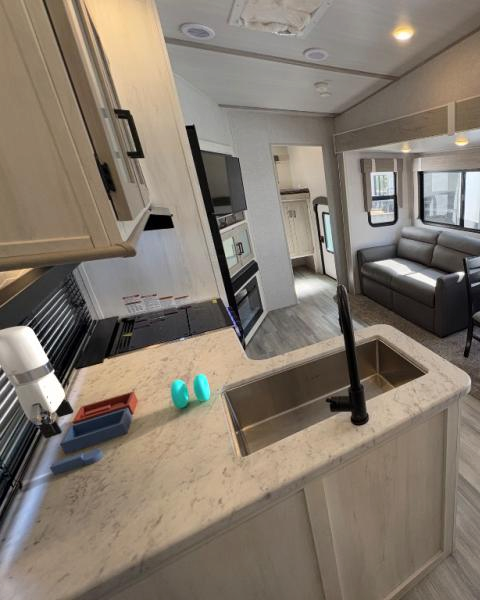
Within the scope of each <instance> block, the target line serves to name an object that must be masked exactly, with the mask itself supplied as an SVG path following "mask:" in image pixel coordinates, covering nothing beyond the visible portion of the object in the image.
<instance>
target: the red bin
mask: <svg viewBox="0 0 480 600" xmlns="http://www.w3.org/2000/svg"><path fill="white" fill-rule="evenodd" d="M138 400H139V399H138V398H137V396H136V393H135V391H133V390H132V391H129V392H127V393H124V394H120V395H116V396H113V397H110V398H106V399H102V400H99V401H95V402H92V403H89V404H86V405H81V406H80V408H79V410H78V411H77V413H76V414H75V416H74V418H73V420H72V425H74V424H77V423H81V422H84V421H87V420H90V419H94V418H97V417H100V416H103V415H106V414H110V413H113V412H116V411H119V410H123V409H126V408H128V409H129V411H130V413H131V415H134V413H135V410H136V406H137V404H138ZM118 403H124V404H125V405H123V406H119V407H116V408H113V409H109V410H106V411H103V412H100V413H96V414H93V415H90V416H86V417H85V413H86V412H88V411H91V410H94V409H98V408H101V407H104V406H108V405H110V406H111V407H112V406H114V405H116V404H118Z"/></svg>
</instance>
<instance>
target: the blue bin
mask: <svg viewBox="0 0 480 600" xmlns="http://www.w3.org/2000/svg"><path fill="white" fill-rule="evenodd" d="M132 419H133V416H132V414H131V413H130V411H129V409H128V408H126V409H123V410H119V411H116V412H113V413H110V414H106V415H103V416H100V417H97V418H94V419H90V420H87V421H84V422H81V423H77V424H72V425H69V427H68V429H67V430H66V432H65V434H64V436H63V437H62V439H61V440H60V442H59V445H60V447H61V449H62V451H63V452H64V454H65V455H68V454H71V453H74V452H77V451H80V450H82V449H86V448H88V447H91V446H94V445H95V446H96V445H97V444H100V443H103V442H106V441H109V440H113V439H115V438H118V437H120V436H121V437H122V436H124V435H126V434H128V432H129V429H130V426H131V422H132Z"/></svg>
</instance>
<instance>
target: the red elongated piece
mask: <svg viewBox="0 0 480 600" xmlns="http://www.w3.org/2000/svg"><path fill="white" fill-rule="evenodd" d="M123 405H125V404H124V403H118V404H116V405H114V406H112V407H111V406H110V405H108V406H104V407H101V408H98V409H94V410H91V411H88V412H86V413H85V417H86V416H90V415H93V414H96V413H100V412H103V411H106V410H109V409H113V408H116V407H119V406H123Z"/></svg>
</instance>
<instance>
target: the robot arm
mask: <svg viewBox="0 0 480 600" xmlns="http://www.w3.org/2000/svg"><path fill="white" fill-rule="evenodd" d="M0 367H1V369H2V370H3V372H4V374H5V376H6V378H7V379H8V381H9V382H10V384H11V385H12V386H13V387H14V391H15V394H16V398H17V400H18V402H19V405H20V406H21V408H22V411H23V412H24V414H25V417H27V419H28V420H30V422H31V423H32V424H33V425H34V426H35V427H36V428H37V429H39V431H40V432H41V434H42V436H43V438H44V439H50V438H52V437H56V436H60V435H61V434H62V433H63V430H62V428H61V427H60V425H59V423H58V421H57V420H54V413H55V414H56V416H57V417H58V418H62V417H65V416H68V415H72V414H74V409H73V407H72V405H71V403H70V401H69V398H68V396H66V391H65V390H64V387H63V384H62V383H61V382H60V381H59V379H58V377H57V376H56V374H55V369H54V367H53V365H52V363H51V362H50V359H49V358H48V356H47V354H46V352H45V350H44V348H43V346H42V345H41V343H40V340H39V338H38V337H37V335H36V333H35V331H34V330H33V329H32V328H31V327H29V326H28V325H27V326H26V325H17V326H11V327H6V328H3V329H0ZM43 417H47V418H43Z"/></svg>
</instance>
